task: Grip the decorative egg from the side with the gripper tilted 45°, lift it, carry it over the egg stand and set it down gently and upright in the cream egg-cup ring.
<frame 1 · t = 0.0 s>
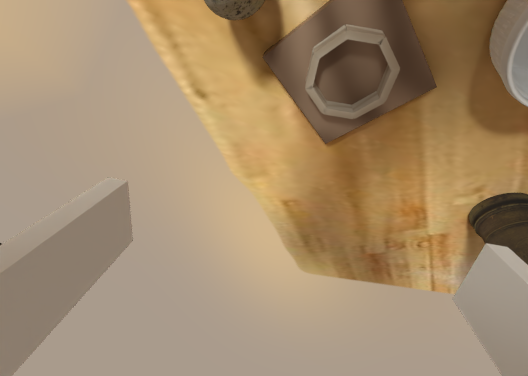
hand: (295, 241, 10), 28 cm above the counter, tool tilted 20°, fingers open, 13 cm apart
container: (501, 210, 44), on the counter
egg stand: (348, 67, 32), on the counter
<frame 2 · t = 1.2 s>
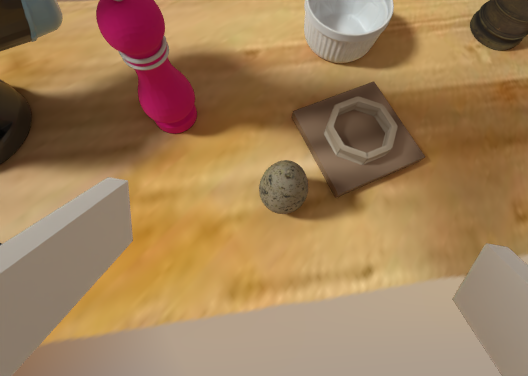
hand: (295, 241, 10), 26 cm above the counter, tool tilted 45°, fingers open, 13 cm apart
container: (493, 31, 49), on the counter
decorative egg: (280, 198, 38), on the counter
ramekin: (336, 40, 48), on the counter
egg stand: (354, 138, 41), on the counter
pepper mill: (176, 116, 42), on the counter
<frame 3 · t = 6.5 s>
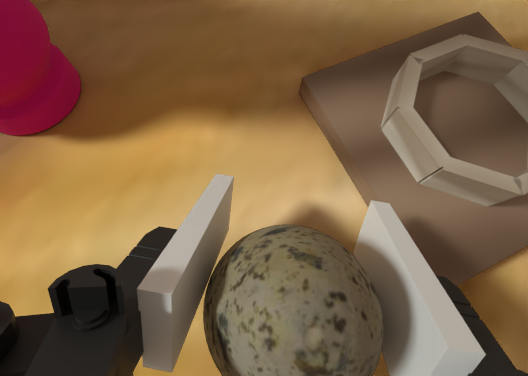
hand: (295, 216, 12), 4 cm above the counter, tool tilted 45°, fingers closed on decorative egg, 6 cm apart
decorative egg: (276, 299, 15), on the counter, touching gripper
egg stand: (446, 138, 18), on the counter
pepper mill: (35, 96, 18), on the counter
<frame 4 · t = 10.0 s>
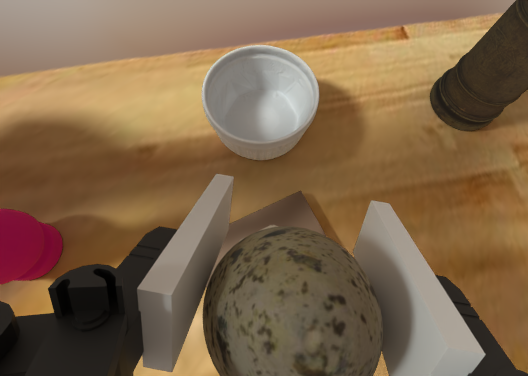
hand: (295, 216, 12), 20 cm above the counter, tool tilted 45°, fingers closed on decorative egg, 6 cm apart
container: (459, 104, 39), on the counter
decorative egg: (276, 301, 15), point 17 cm above the counter, touching gripper
ramekin: (259, 125, 37), on the counter
egg stand: (273, 274, 31), on the counter
pepper mill: (35, 251, 31), on the counter
when the fingers open (7 cm above the counter, at t = 13.4 s): decorative egg drops 2 cm, resting on egg stand.
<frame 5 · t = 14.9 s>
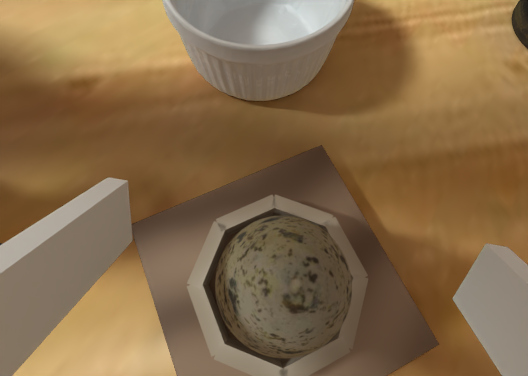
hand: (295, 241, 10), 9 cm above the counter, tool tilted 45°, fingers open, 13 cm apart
decorative egg: (274, 282, 17), point 1 cm above the counter, touching egg stand
ramekin: (258, 54, 25), on the counter
egg stand: (274, 281, 18), on the counter
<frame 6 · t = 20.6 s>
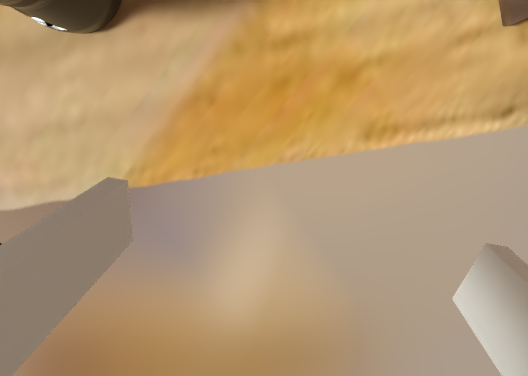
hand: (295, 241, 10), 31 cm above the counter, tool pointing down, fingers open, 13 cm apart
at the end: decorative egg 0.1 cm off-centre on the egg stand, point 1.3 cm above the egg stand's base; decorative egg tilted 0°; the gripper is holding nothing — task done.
